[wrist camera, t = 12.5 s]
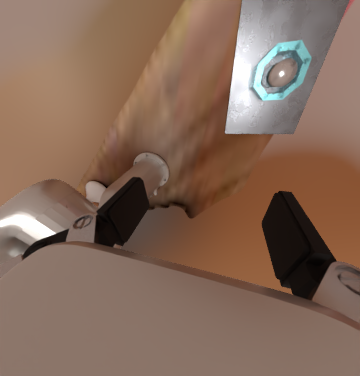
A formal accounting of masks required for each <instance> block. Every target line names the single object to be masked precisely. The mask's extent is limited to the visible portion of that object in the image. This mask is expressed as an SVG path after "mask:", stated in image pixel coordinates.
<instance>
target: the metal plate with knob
mask: <svg viewBox="0 0 360 376" xmlns="http://www.w3.org/2000/svg"><path fill="white" fill-rule="evenodd" d="M348 2H349V0H242V5H241V12H240V20H239V28H238V36H237V43H236V51H235V59H234V66H233V74H232V82H231V89H230V97H229V105H228V112H227V120H226V128H225V134H293V133H294V131H295V129H296V127H297V124H298V122H299V120H300V117H301V115H302V112H303V110H304V107H305V105H306V103H307V100H308V98H309V96H310V93H311V91H312V88H313V86H314V84H315V81H316V79H317V76H318V74H319V72H320V69H321V67H322V65H323V62H324V60H325V57H326V55H327V53H328V50H329V48H330V45H331V43H332V40H333V38H334V36H335V33H336V31H337V29H338V26H339V24H340V21H341V19H342V17H343V14H344V12H345V10H346V7H347V5H348ZM298 40H302V41H303V43H304V45H305V47H306V49H307V50H308V52H309V54H310V56H311V58H312V59H311V61H310V64H309V67H308V69H307V72H306V75H305V77H304V80H303V83H302V84H301V85H300V86H298V87H297V88H296V89H295V90H293V91H292V92H291V93H290V94H289V95H287V96H286V97H285V98H284V99H283V100H264V101H263V100H259V99H258V97H257V96H256V95H255V93H254V92H253V90H252V89H251V88H250V86H251V81H252V76H253V71H254V67H255V66H256V65H257V64H258V63H259V62H260V61H261V60H262V58H263V57H264V56H265V55H266V54H267V53H268V52H269V51H270V50H271V49H272V48H273V47H274V46H275V45H276V44H278V43H284V42H291V41H298ZM296 72H297V62H296V61H295V60H294V59H292V58H287V56H286V55H282V56H274V57H273V58H272V59H271V60H270V61H269V62H268V63H267V64H266V65H265V66H264V69H263V74H262V78H261V82H260V84H261V86H262V87H263V89H264V90H265V91H266V93H275V92H276V91H278V90H279V89H280V88H281V87H282V86H285V85H287V84H288V83H289V82H290V81H291V80H292V79H293V78H294V76H295V75H296Z"/></svg>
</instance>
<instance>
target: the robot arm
mask: <svg viewBox="0 0 360 376" xmlns="http://www.w3.org/2000/svg"><path fill="white" fill-rule="evenodd" d="M168 178H169V168H168V166H167V164H166V162H165V161H164V160H163V159H162V158H161V157H160V156H158V155H157V154H154V153H151V152H144V153H141V154H139V155H138V156H137V157H136V158H135V160H134V164H133V167H132V168H130V169H129V170H128V171H127V172H126V173H124V174H123V175H122V176H121V177H120V178H118V179H117V180H116V181H115V182H114V183H112V184H111V185H110V186H109V187H108V188H107V189H106V190H105V191H104V192H103V194H102V196H101V198H100V202H99V208H98V207H96V206H95V205H94V204H93V203H91V202H90V201H89V200H88V199H87V198H85V197H84V196H83V195H82V194H81V193H79V192H78V191H77V190H76V189H74V188H73V187H72V186H70V185H69V184H67V183H66V182H64V181H61V180H57V179H48V180H44V181H41V182H38V183H36V184H34V185H32V186H30V187H28V188H26V189H25V190H23V191H22V192H20V193H18V194H17V195H16V196H14V197H13V198H12V199H10V200H9V201H8V202H6V203H5V204H4V205H3V206H1V207H0V376H360V269H359V268H357V267H355V266H353V265H351V264H348V263H345V262H339V261H336V259H335V258H334V256H333V255H332V253H331V252H330V250H329V249H328V247H327V245H326V244H325V242H324V241H323V239H322V238H321V236H320V235H319V233H318V232H317V230H316V229H315V227H314V226H313V224H312V222H311V221H310V219H309V218H308V217H307V215H306V214H305V212H304V210H303V209H302V207H301V206H300V204H299V203H298V201H297V200H296V198H295V197H294V195H293V194H292V192H285V191H279V192H278V193H275V194H274V196H273V198H272V200H271V203H270V205H269V207H268V210H267V212H266V214H265V216H264V218H263V220H262V228H263V232H264V236H265V239H266V243H267V247H268V250H269V253H270V258H271V261H272V265H273V269H274V272H275V276H276V278H277V279H279V280H280V283H281V286H282V287H287V288H291V290H292V293H293V295H291V294H288V293H285V292H281V291H277V290H274V289H271V288H267V287H263V286H259V285H256V284H253V283H249V282H245V281H241V280H238V279H234V278H230V277H226V276H222V275H219V274H215V273H211V272H207V271H204V270H200V269H196V268H192V267H188V266H184V265H180V264H177V263H172V262H169V261H165V260H161V259H157V258H153V257H149V256H145V255H141V254H138V253H134V252H129V251H125V250H122V249H120V248H121V246H123V245H124V243H125V242H127V241H128V239H129V238H130V236H131V235H132V233H133V232H134V230H135V229H136V227H137V225H138V224H139V222H140V221H141V219H142V218H143V216H144V214H145V213H146V211H147V210H148V208H149V201H148V200H149V198H150V197H152V196H153V193H154V195H157V194H158V192H157V189H158V187H159V186H162V185H164V184H165V183H166V182H167V180H168Z"/></svg>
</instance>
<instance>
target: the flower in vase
mask: <svg viewBox="0 0 360 376" xmlns="http://www.w3.org/2000/svg"><path fill="white" fill-rule="evenodd" d="M106 189H107V188H106V187H105V186H103V185H102V184H100V183H98V182H96V181H89V182H88V183H87V184H86V193H87V199H88V200H89V201H90V202H100V198H101V196H102V194H103V192H104V191H105V190H106Z"/></svg>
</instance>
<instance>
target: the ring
mask: <svg viewBox="0 0 360 376" xmlns="http://www.w3.org/2000/svg"><path fill="white" fill-rule="evenodd" d="M282 55H286V56H287V58H292V59H294V60H295V61H296V62H297V72H296V75H295V76H294V78H293V79H292V80H291V81H290V82H289V83H288V84H287V85H285V86H282V87H281V88H280V89H279V90H278V91H276V92H275V93H266V91H265V90H264V89H263V87H262V86H261V84H260V82H261V78H262V74H263V69H264V66H265V65H266V64H267V63H268V62H269V61H270V60H271V59H272V58H273V57H274V56H282ZM311 59H312V58H311V56H310V54H309V52H308V50H307V49H306V47H305V45H304V43H303V41H302V40H298V41H291V42H284V43H278V44H276V45H275V46H274V47H273V48H272V49H271V50H270V51H269V52H268V53H267V54H266V55H265V56H264V57H263V58H262V60H261V61H260V62H259V63H258V64H257V65H256V66H255V67H254V71H253V76H252V81H251V86H250V88H251V89H252V90H253V92H254V93H255V95H256V96H257V97H258V99H259V100H263V101H264V100H283V99H284V98H285V97H286V96H287V95H289V94H290V93H291V92H292V91H293V90H295V89H296V88H297V87H298V86H300V85H301V84H302V83H303V80H304V77H305V75H306V72H307V69H308V67H309V64H310V61H311Z"/></svg>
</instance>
